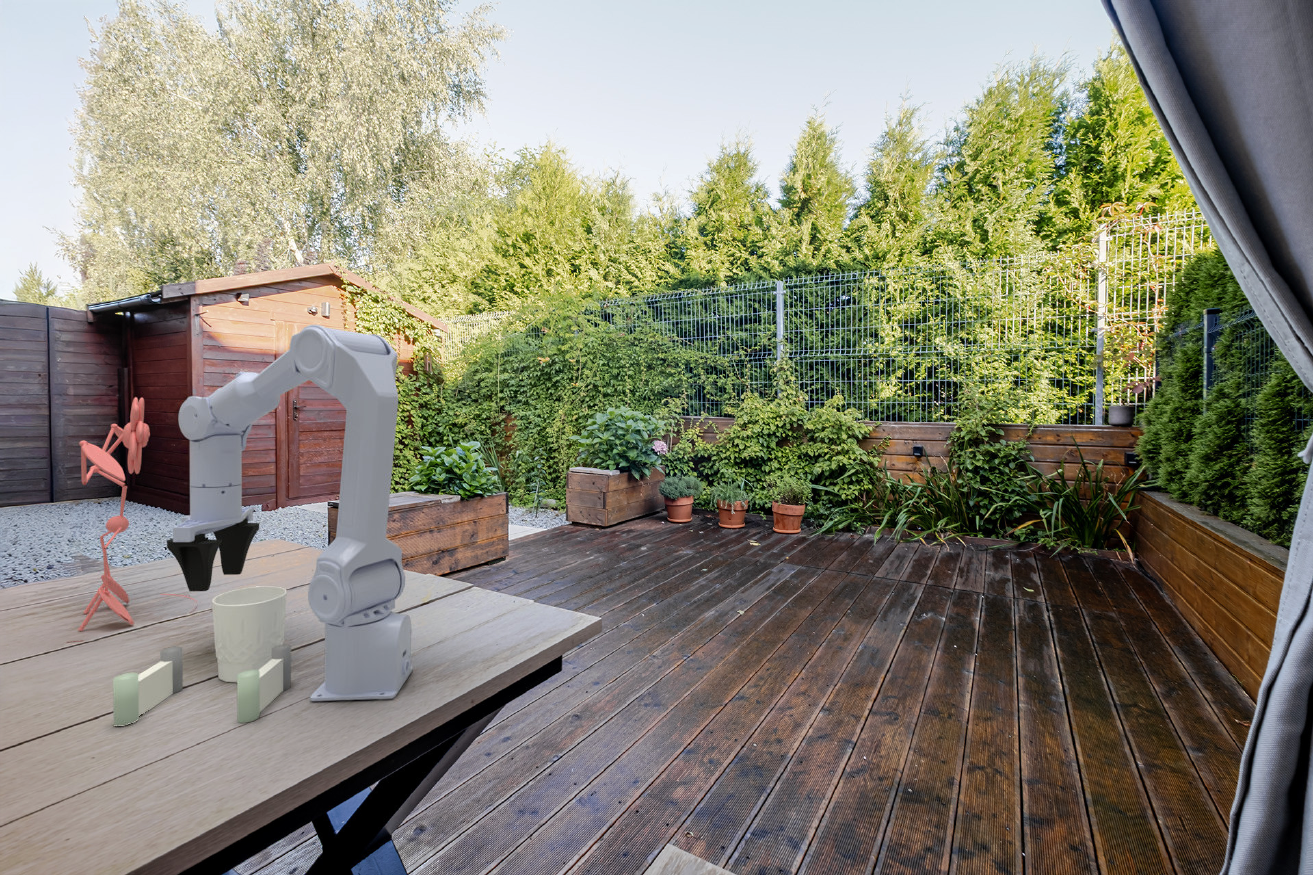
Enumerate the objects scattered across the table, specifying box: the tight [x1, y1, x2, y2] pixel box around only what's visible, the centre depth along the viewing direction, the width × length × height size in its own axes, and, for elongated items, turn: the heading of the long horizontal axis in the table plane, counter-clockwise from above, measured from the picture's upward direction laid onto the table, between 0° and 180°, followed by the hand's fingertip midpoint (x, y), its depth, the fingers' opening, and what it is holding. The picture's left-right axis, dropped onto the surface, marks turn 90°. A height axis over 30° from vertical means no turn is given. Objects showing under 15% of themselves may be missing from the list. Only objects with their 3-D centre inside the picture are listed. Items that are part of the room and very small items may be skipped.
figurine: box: [66, 396, 197, 644], centre depth 93 cm, size 15×26×35 cm, turn 41°
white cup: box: [211, 585, 288, 683], centre depth 75 cm, size 8×8×10 cm
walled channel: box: [112, 643, 292, 726], centre depth 67 cm, size 14×9×5 cm, turn 97°
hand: (216, 582), depth 81 cm, fingers open, 7 cm apart
